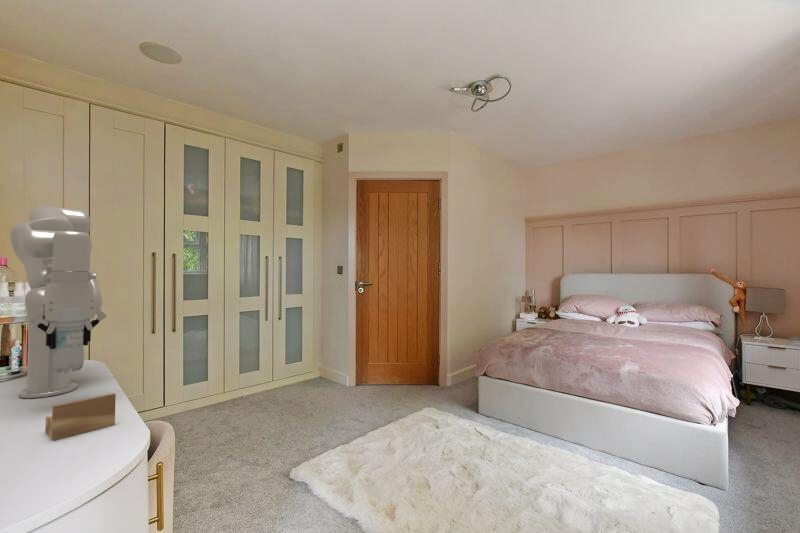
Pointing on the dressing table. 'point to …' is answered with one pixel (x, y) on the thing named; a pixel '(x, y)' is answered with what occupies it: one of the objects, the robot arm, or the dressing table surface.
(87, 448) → the dressing table surface
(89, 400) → the wooden u-shaped piece
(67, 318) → the bottle
